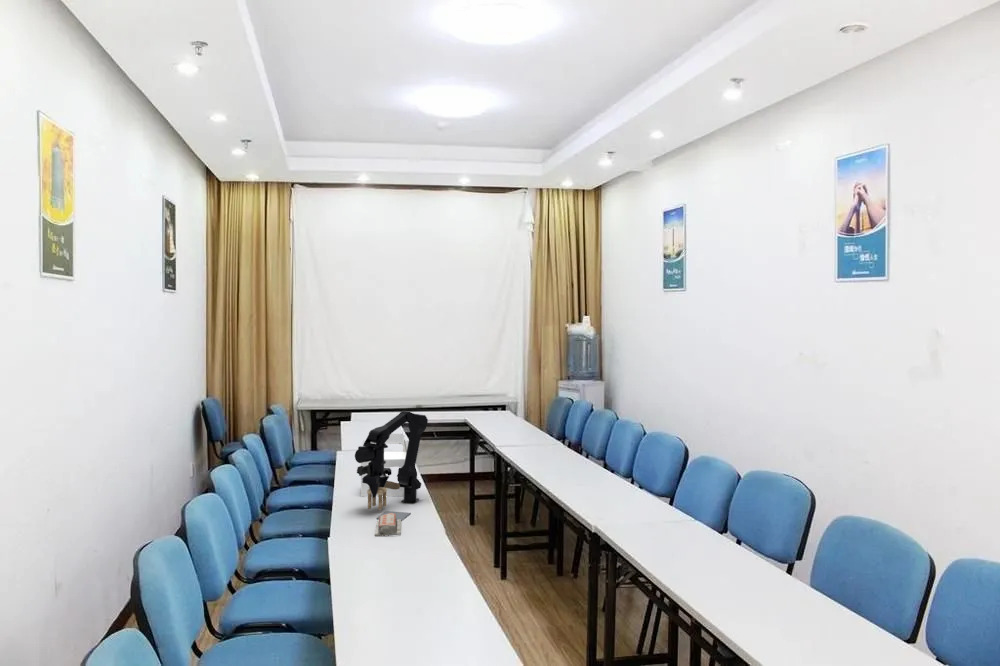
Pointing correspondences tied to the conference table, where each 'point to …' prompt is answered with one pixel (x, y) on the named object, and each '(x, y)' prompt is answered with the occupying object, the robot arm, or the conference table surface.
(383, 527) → the packaged product
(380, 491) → the stool
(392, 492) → the gable box
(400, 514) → the mat
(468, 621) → the conference table surface
